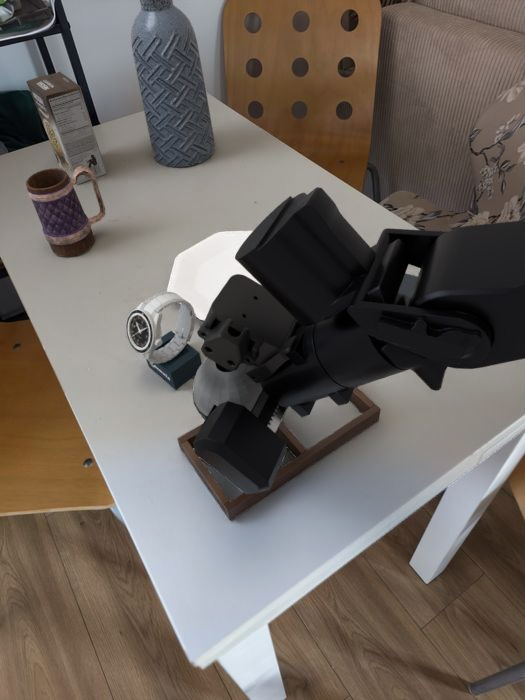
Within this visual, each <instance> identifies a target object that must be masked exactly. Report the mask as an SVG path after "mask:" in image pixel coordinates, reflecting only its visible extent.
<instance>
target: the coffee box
mask: <svg viewBox="0 0 525 700" xmlns="http://www.w3.org/2000/svg"><path fill="white" fill-rule="evenodd" d="M25 82H26V83H25V84H26V85H27V87H28V89H29V92H30V94H31V95H30V96H31V97H32V101H33V102H34V105H35V107H36V111H37V112H38V115H39V117H40V120H41V123H42V125H43V128H44V130H45V133H46V135H47V138H48V141H49V143H50V146H51V148H52V151H53V153H54V156H55V159H56V161H57V164H58V166H59V169H62V170H64V171H66V173H67V174H68V176H69V177H70V179H72V178H73V175H74V170H75V169H76V168H77V167H80V166H82V165H83V166H86V167H89V168H90V169H91V170H92V172H93V173H94V174H95V175H96V178H99V177H102V176H104V175H107V169H106V166H105V164H104V160H103V158H102V157H103V156H102V153H101V150H100V148H99V144H98V140H97V138H96V133H95V131H94V127H93V124H92V121H91V117H90V115H89V111H88V108H87V105H86V101H85V98H84V94H83V92H82V89H81V86H80V85H79V84H78V83H77V82H75V81H73V80H72V79H71V78H69V77H68V76H66V75H65V74H64V73H62V72H61V71H58V72H55V73H51V74H46V75H42V76H38V77H35V78H31V79H29V80H27V81H25ZM88 181H92V180H91V179H90V178H89V177H88V176H85V175H80V176H79V177H78V179H77V183H76V184H75V185H81V184H83V183H86V182H88Z"/></svg>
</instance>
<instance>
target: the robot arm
mask: <svg viewBox="0 0 525 700" xmlns="http://www.w3.org/2000/svg"><path fill="white" fill-rule="evenodd" d="M252 231H253V232H252V233H251V234H250V235H249V236H248V238H247V239H246V240H245V241H244V243H243V244H242V245H241V247H240V248H239V250H238V251H237V253H236V255H235V259H236V260H237V261H238V262H239V263H240V264H241V265H242V266H243V267H244V268H245V269H246V270H247V271H248V272H249V273H250V274H251V275H252V276H253V277H254V278H255V279H256V280H257V281H258V282H259V283H260V284H261V285H260V284H258V283H257V282H255V281H253V280H252V279H250V278H248V277H247V276H244V275H241V274H236V275H233V276H231V277H230V278H229V280H228V281H227V283H226V284H225V285H224V287H223V288H222V290H221V291H220V293H219V294H218V296H217V297H216V298H215V300H214V301H213V303H212V305H211V307H210V309H209V312H208V314H207V316H206V319H205V321H204V322H203V321H202V324H201V325H200V327H199V328H198V329H197V332H196V334H197V336H198V337H199V338H201V339H202V340H203V343H202V345H201V347H200V351H201V353H202V354H203V356H204V357H205V358H206V359H207V358H209V359H210V360H212V361H214V362H216V363H217V364H219V365H221V366H222V367H224V368H226V369H228V370H237V368H238V367H239V365H240V364H242V363H244V364H246V365H249V366H248V368H247V370H246V371H245V374H246V375H247V376H249V377H250V378H251V379H252V380H253V381H254V382H255V383H260V384H261V387H262V388H263V389H262V391H261V393H260V395H259V397H258V399H257V400H256V402H255V404H254V406H253V408H252V410H251V412H250V411H249V410H248V409H247V408H246V407H245V406H243V405H239V404H236V403H233V402H230V401H226V402H224V403H221V404H219V405H218V406H216V405H215V404H214V406H213V407H212V409H211V411H210V412H209V414H208V416H207V418H206V419H205V420H204V421H203V422H202V423H201V424H202V426H201V428H200V430H199V431H198V432H197V433H196V435H195V437H196V438H195V440H194V442H193V445H194V451H195V454H196V455H197V456H199V458H200V459H201V460H202V461H203V462H205V463H206V464H207V465H209V466H210V467H211V468H212V469H213V470H215V471H216V472H217V473H218V474H219V475H221V476H222V477H224V479H226V480H227V481H228V482H230V483H231V484H232V485H233V486H235V487H236V488H237V489H238V490H240V491H241V492H242V493H243V492H244V493H245V494H252V493H259V492H263V491H267V490H270V488H271V486H272V483H273V481H274V479H275V477H276V474H277V472H278V470H279V469H280V468H281V465H282V463H283V461H284V459H285V456H286V454H287V452H288V451H287V447H286V442H285V441H284V440H283V439H281V438H280V437H279V436H278V435H277V434H276V431H277V429H278V427H279V424H280V422H281V421H282V420H283V418H284V416H285V414H286V412H287V410H288V408H290V409H291V410H293V412H295V413H296V414H297V415H298V416H299V417H300V418H303V417H307V416H310V415H311V413H312V411H313V409H314V406H315V405H316V402H317V401H319V400H322V399H325V398H330V399H331V400H332V401H333V402H334V403H335V405H337V406H339V407H340V406H344V405H346V404H350V398H351V396H352V393H353V390H354V388H355V387H358V388H359V387H360V386H364V385H368V384H370V383H373V382H377V381H378V380H382V379H385V378H388V377H390V376H391V377H392V376H394V375H397V374H400V373H403V372H407V371H412V372H413V373H415V374H416V376H417V377H419V379H420V380H421V381H422V382H423V383H424V384H425V385H426V386H427V387H428V388H429V389H430V390H431V391H434V392H438V391H440V390H441V389H442V386H443V382H444V379H445V374H446V371H447V369H448V368H451V369H456V370H457V369H460V370H474V369H475V370H476V369H481V368H482V369H483V368H487V367H492V366H495V365H502V364H506V363H511V362H516V361H520V360H525V220H513V221H503V222H495V223H494V222H493V223H484V224H475V225H466V226H460V227H456V228H454V229H451V230H448V231H442V230H425V229H424V230H423V229H422V230H421V229H409V228H408V229H405V228H392V227H391V228H389V227H388V228H383V229H382V231H381V233H380V235H379V238H378V240H377V241H376V243H375V244H374V245H372V246H370V245H369V244H368V243H367V242H366V240H364V238H363V237H362V236H361V235H360V234H359V232H358V231H356V229H355V227H353V226H352V225H351V224H350V222H349V221H347V219H346V218H345V216H343V214H342V213H341V212H340V210H339V208H338V206H337V204H336V203H335V201H334V200H333V198H331V196H330V195H329V194H328V193H327V192H326V191H325V190H324V188H323V187H318V186H317V187H315V188H313V190H311V191H310V192H309V193H306V192H301V193H298V194H297V195H296V196H294V197H292V196H291V195H290V196H288V197H287V198H286V199H284V200H283V201H282V202H281V203H280V204H278V205H277V206H276V207H275V208H274V209H273V210H272V211H271V212H270V213H269V214H268V215H267V216H266V217H265V218H264V219H263V220H262V221H261V222H260V223H259V224H257V226H255V228H254V229H253V230H252ZM409 265H410V266H413V267H415V268H418V269H419V272H418V275H417V276H418V278H417V281H416V284H415V287H414V290H413V293H412V296H411V298H409V297H408V296H407V295H405V294H401V295H400V294H399V293H398V292H399V289H400V286H401V284H402V281H403V278H404V276H405V273H406V272H407V270H408V267H409ZM406 274H407V273H406Z"/></svg>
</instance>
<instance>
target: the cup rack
mask: <svg viewBox="0 0 525 700" xmlns="http://www.w3.org/2000/svg"><path fill="white" fill-rule="evenodd" d="M349 403H351V404H352V405H353V406H354V407H355V408H356V409H357V410H359V412H361V414H359V415H358V416H356V417H355V418H353V419H352V420H350V421H349V422H347V423H346V424H344V425H343V426H341V427H340V428H339V429H337V430H335V431H333V432H332V433H331V434H329V435H328V436H325V438H324V439H322V440H320V441H319V442H317V443H316V444H314V445H313V446H311V447H309V448H308V449H307V448H306V446H305V445H304V444H303V443H302V442H301V441H300V440H299V439H298V437H297V436H296V435H295V434H294V433H293V432H292V431H291V430H290V429H289V427H288V426H287V425H286V424H285V422H283V421H282V420H281V422H280V424H279V427H278V429H277V431H276V434H277V435H278V436H279V437H280V438H281V439H283V440H284V441H285V442H286V449H288V450H289V452H290V453H291V454H292V455H293V456H294V457H295V458H293V459H292V460H290V461H288V462H287V463H286V464H284V465H283V466H280V468H279V470H278V472H277V474H276V477H275V479H274V481H273V483H272V486H271V488H270V490H267V491H263V492H259V493H252V494H245V493H244V492H242V493H240V494H239V495H237V496H236V497H234V498H232V499H231V500H230V499H229V497H228V495H227V494H226V493H225V492H224V490H223V489H222V487H221V486H220V485H219V483H218V482H217V480H216V478H215V477H214V476H213V474H212V473H211V472H210V470H209V469H208V468H207V466H206V464H205V463H204V461H203V460H202V459H201V458H200V457H199V456H197V455H196V454H195V450H194V445H193V442H194V440H195V438H196V437H195V435H196V433H197V432H198V431H199V430H200V428H201V426H202V424H203V423H201V424H199V425H198V426H196V427H195V428H193V429H191V430H189V431H187V432H186V433H184V434H183V435H181V436H179V437H177V443H178V446H179V448H180V451H181V452H182V454H183V455H184V457H185V458H186V460H187V461H188V463H189V464H190V465H191V467H192V468H193V470H194V471H195V473H196V475H198V477H199V479H200V480H201V481H202V483H203V484H204V486H205V487H206V488H207V490H208V491H209V493H210V494H211V496H212V497H213V499H214V500H215V502H216V503H217V505H218V506H219V508H220V509H221V511H222V513H223V514H224V515H225V516H226V518H227V520H228V521H229V522H232V521H233V520H234V519H237V518H238V517H240V516H241V515H242V514H244V513H245V512H247V511H248V510H250V509H251V508H253V507H254V506H255V505H257V504H258V503H260V502H261V501H263V500H264V499H265V498H267V497H269V496H270V495H272V494H273V493H275V492H276V491H278V490H279V489H280V488H282V487H283V486H285V485H287V484H288V483H289V482H291V481H292V480H293V479H295V478H297V477H298V476H299V475H301V474H303V473H304V472H306V471H307V470H308V469H310V468H312V467H313V466H314V465H316V464H317V463H319V462H320V461H322V460H323V459H324V458H326V457H327V456H329V455H331V454H332V453H333V452H335V451H336V450H338V449H339V448H341V447H342V446H344V445H346V444H347V443H348V442H350V441H351V440H353V439H354V438H355V437H357V436H359V435H360V434H361V433H363V432H365V431H366V430H367V429H369V428H370V427H372V426H373V425H374V424H376V423H377V422H379V421H380V416H381V411H382V409H381V408H380V406H378V405H377V404H376V403H375V402H374V401H373V400H372V399H371V398H370V397H368V396H367V395H366V393H364V392H363V391H362V390H361V389H360V388H359V386H358V387H355V388H354V390H353V393H352V396H351V398H350V401H349Z"/></svg>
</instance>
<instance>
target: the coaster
mask: <svg viewBox="0 0 525 700" xmlns="http://www.w3.org/2000/svg"><path fill="white" fill-rule="evenodd" d="M417 278H418V275H414V274H410V273H405V276H404V278H403V281H402V284H401V286H400V289H399V292H398V293H399V294H400V295H401V294H405V295H407V296H408V297H409V298H411V296H412V293H413V290H414V287H415V284H416V281H417Z"/></svg>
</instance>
